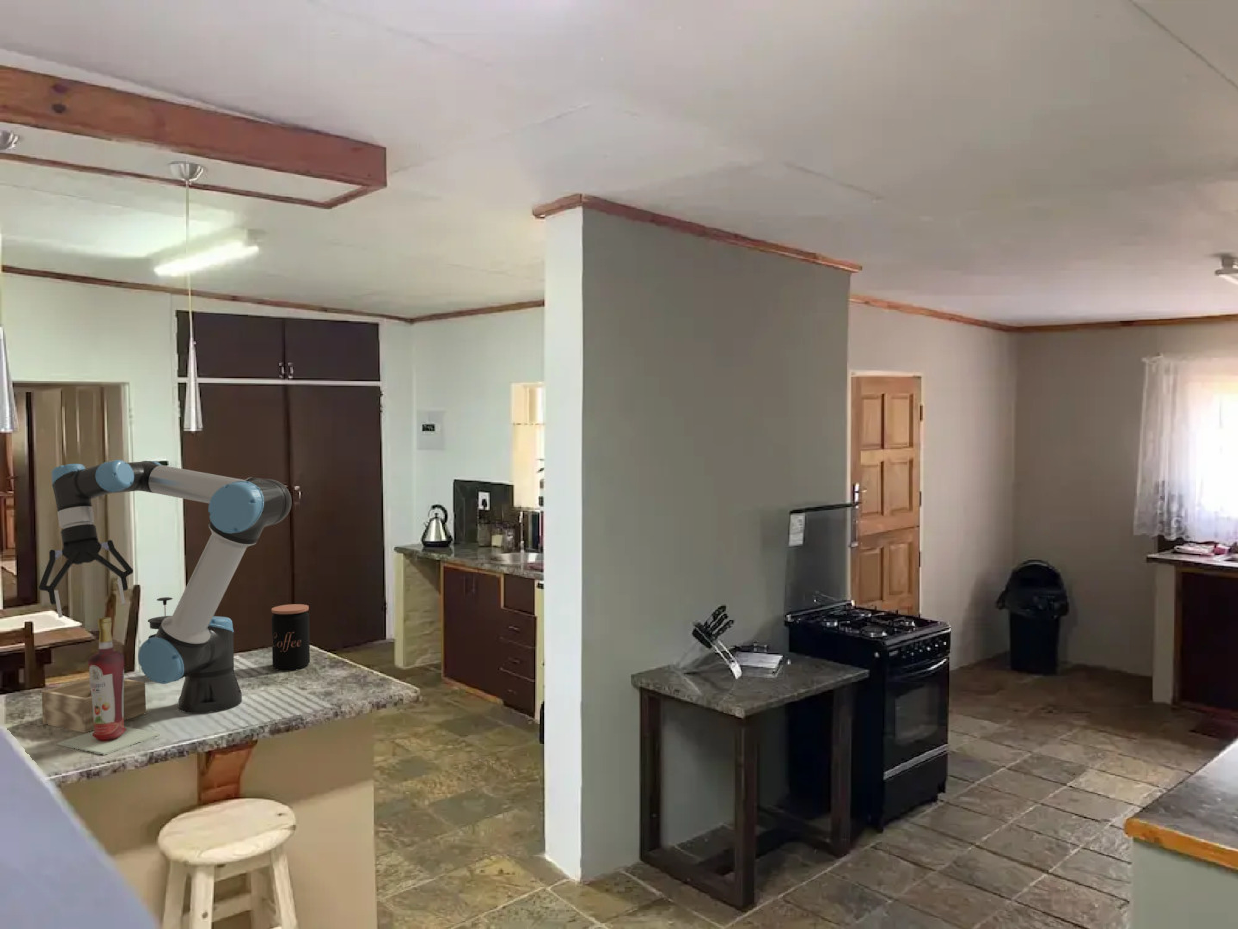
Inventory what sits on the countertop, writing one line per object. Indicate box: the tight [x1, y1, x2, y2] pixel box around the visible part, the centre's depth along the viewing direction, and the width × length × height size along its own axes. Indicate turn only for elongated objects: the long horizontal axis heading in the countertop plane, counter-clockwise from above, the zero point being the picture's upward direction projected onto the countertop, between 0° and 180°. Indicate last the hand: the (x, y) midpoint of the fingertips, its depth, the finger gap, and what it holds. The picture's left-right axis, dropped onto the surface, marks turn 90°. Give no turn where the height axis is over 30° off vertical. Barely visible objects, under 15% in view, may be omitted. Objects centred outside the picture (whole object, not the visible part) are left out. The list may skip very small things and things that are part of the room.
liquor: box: [87, 616, 126, 741], centre depth 211 cm, size 7×7×28 cm
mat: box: [57, 725, 161, 756], centre depth 211 cm, size 16×14×1 cm
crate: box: [41, 678, 147, 734], centre depth 227 cm, size 16×16×8 cm
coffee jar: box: [271, 603, 311, 671], centre depth 275 cm, size 11×11×18 cm
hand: (92, 610), depth 224 cm, fingers open, 13 cm apart
